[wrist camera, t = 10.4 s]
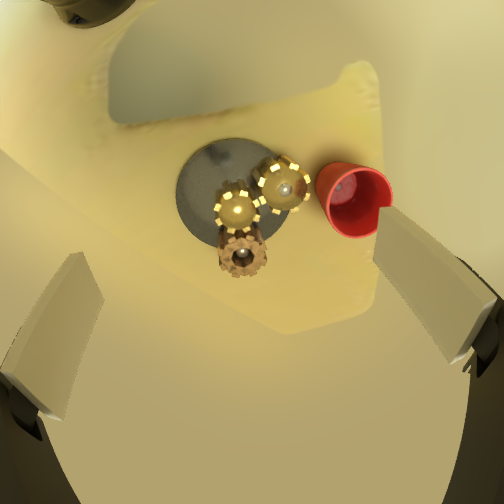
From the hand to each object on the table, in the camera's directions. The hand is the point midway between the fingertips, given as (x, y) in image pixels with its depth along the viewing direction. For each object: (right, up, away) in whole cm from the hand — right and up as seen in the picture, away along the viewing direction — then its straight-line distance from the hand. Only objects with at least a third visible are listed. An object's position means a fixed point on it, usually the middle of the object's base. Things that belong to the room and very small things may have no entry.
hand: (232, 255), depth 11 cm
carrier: (-2, +9, +31) cm, 33 cm away
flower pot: (+15, +12, +32) cm, 37 cm away
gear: (-1, +2, +33) cm, 34 cm away
